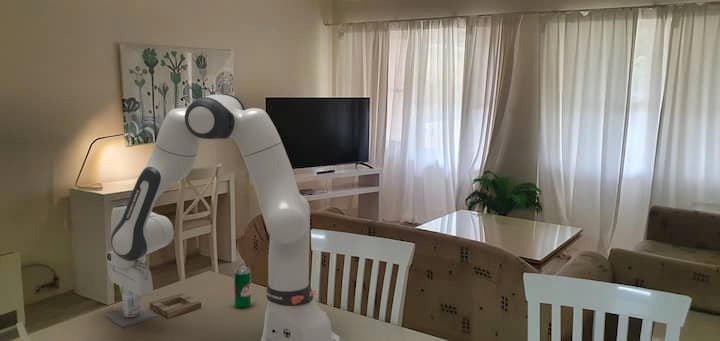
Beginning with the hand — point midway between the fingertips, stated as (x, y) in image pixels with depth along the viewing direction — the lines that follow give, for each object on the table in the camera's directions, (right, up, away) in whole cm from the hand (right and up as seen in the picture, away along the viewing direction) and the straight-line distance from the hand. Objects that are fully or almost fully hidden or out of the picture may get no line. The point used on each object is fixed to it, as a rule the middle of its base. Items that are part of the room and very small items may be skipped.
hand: (131, 302), depth 159 cm
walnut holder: (+10, -4, +8) cm, 14 cm away
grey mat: (0, -4, +1) cm, 5 cm away
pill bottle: (0, -4, +1) cm, 4 cm away
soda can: (+30, -4, +11) cm, 32 cm away
